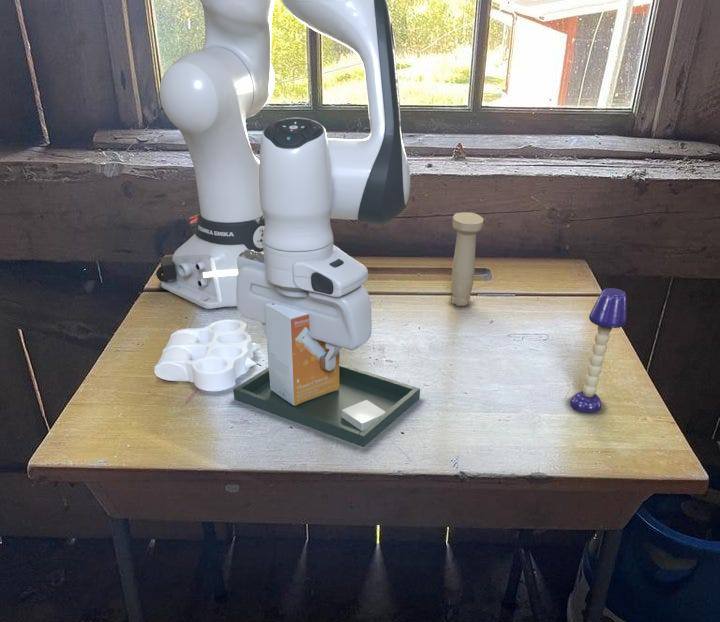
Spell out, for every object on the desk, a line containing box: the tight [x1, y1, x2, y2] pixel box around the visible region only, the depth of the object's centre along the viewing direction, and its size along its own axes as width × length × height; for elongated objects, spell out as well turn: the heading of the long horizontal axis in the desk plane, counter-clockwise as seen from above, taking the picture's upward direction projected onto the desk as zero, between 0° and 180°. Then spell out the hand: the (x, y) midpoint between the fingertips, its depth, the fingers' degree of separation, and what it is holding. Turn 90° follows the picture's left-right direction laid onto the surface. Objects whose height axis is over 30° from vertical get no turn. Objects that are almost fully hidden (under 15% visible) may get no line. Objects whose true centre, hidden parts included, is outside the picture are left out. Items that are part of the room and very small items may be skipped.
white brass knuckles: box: [153, 319, 262, 392], centre depth 110 cm, size 3×18×15 cm
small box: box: [265, 303, 340, 406], centre depth 100 cm, size 8×6×13 cm
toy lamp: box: [569, 287, 627, 414], centre depth 97 cm, size 5×5×17 cm
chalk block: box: [342, 400, 385, 431], centre depth 97 cm, size 4×4×1 cm
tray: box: [232, 362, 421, 448], centre depth 101 cm, size 22×15×2 cm
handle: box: [450, 211, 484, 307], centre depth 125 cm, size 5×6×15 cm
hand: (303, 360), depth 101 cm, fingers closed on small box, 7 cm apart
